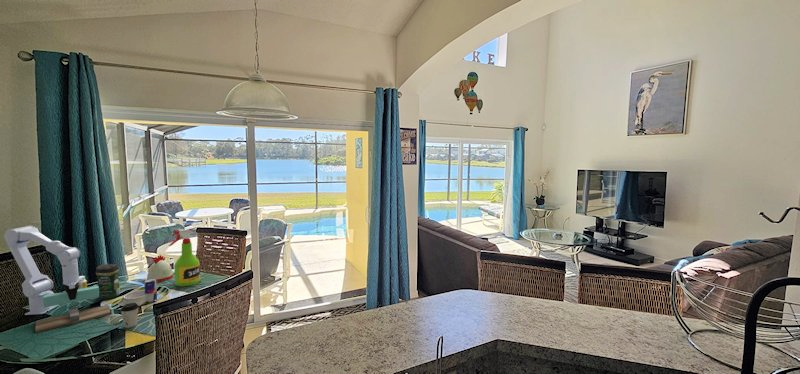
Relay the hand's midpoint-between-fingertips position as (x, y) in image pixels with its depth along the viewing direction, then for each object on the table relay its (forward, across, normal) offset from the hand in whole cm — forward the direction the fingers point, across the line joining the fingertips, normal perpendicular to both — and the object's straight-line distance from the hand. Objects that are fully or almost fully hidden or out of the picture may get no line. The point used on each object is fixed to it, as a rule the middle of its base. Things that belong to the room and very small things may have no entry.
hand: (72, 298), depth 172 cm
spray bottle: (+8, +5, -51) cm, 51 cm away
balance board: (+7, -10, 0) cm, 12 cm away
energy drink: (+8, -11, -30) cm, 33 cm away
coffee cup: (+8, -36, -18) cm, 41 cm away
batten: (+2, 0, 0) cm, 2 cm away
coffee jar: (+8, +12, -15) cm, 20 cm away
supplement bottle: (+8, +28, -4) cm, 29 cm away
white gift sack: (+8, +26, -42) cm, 50 cm away
